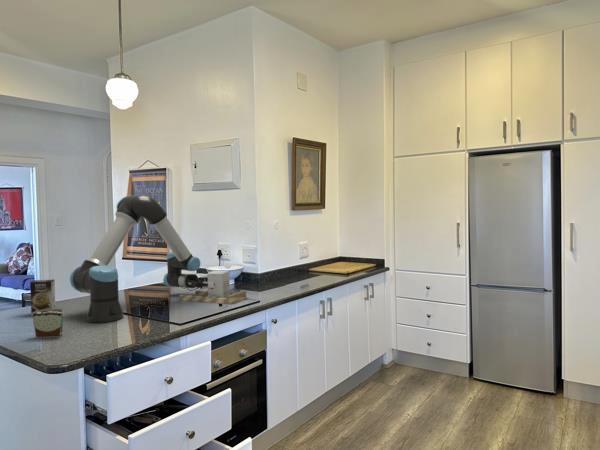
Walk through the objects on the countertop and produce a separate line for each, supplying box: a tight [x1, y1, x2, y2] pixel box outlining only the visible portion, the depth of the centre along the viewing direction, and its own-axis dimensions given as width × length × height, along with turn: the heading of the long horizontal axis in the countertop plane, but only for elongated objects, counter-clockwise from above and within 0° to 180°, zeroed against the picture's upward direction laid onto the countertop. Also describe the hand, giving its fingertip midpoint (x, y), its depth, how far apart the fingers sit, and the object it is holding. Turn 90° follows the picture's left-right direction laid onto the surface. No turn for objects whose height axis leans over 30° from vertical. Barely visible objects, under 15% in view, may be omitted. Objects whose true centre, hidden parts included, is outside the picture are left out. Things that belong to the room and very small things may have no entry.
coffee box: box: [29, 279, 56, 315], centre depth 210 cm, size 9×6×16 cm
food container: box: [30, 308, 66, 339], centre depth 175 cm, size 12×6×10 cm, turn 92°
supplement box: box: [207, 270, 231, 298], centre depth 235 cm, size 9×9×15 cm
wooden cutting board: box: [179, 289, 247, 305], centre depth 239 cm, size 32×20×4 cm, turn 66°
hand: (221, 282), depth 234 cm, fingers open, 13 cm apart
